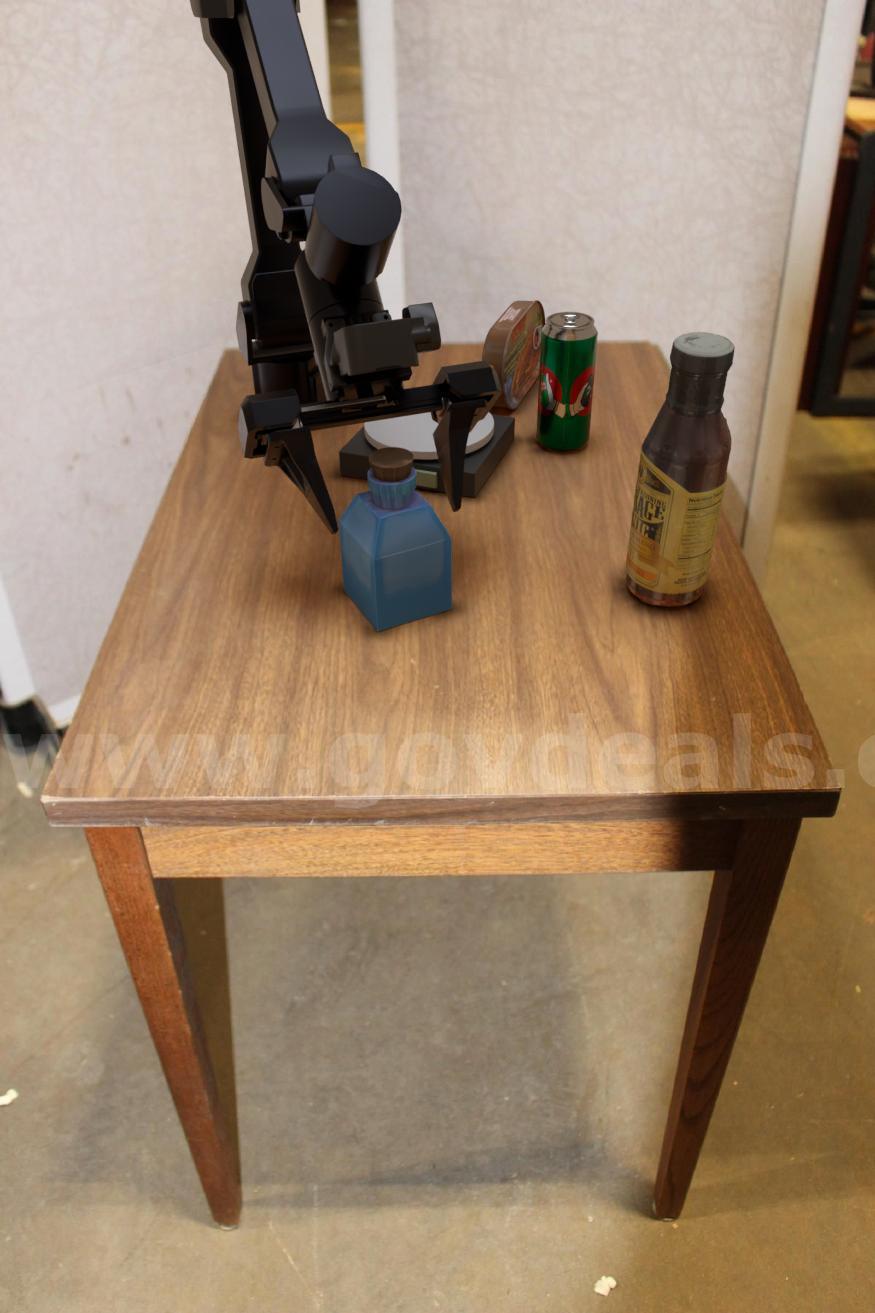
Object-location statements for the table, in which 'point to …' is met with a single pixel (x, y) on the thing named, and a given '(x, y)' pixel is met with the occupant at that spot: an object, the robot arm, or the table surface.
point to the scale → (430, 449)
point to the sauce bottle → (682, 476)
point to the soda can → (566, 381)
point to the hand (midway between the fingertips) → (397, 521)
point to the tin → (515, 350)
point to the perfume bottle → (395, 546)
